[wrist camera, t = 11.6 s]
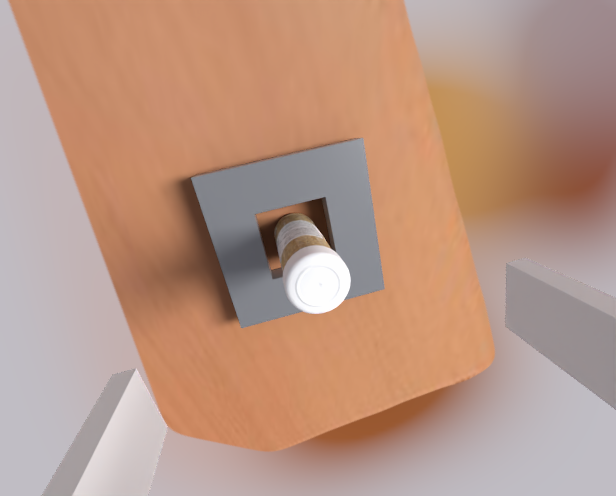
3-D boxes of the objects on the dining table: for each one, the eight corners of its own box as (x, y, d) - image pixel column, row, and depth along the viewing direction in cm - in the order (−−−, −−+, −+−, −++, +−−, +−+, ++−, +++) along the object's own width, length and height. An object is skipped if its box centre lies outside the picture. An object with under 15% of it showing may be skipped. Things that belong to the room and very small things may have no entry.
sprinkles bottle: (313, 253, 35) (347, 316, 22) (272, 252, 34) (282, 316, 21) (317, 212, 33) (356, 254, 21) (274, 210, 32) (287, 252, 20)
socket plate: (195, 175, 30) (190, 177, 28) (355, 138, 32) (363, 138, 29) (242, 316, 36) (241, 328, 33) (376, 279, 37) (384, 288, 35)
